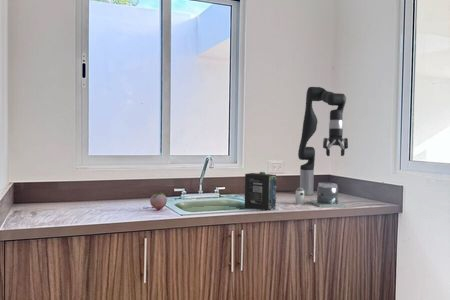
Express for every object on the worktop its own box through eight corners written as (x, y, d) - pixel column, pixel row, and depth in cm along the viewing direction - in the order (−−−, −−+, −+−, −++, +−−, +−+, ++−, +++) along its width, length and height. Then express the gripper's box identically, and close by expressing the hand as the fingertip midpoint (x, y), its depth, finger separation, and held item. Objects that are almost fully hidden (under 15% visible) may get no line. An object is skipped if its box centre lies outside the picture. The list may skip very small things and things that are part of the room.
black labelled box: (270, 211, 203) (271, 173, 202) (242, 207, 214) (243, 171, 213) (277, 209, 210) (278, 172, 209) (250, 205, 221) (250, 170, 220)
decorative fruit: (156, 208, 208) (156, 189, 207) (169, 209, 204) (169, 190, 204) (146, 211, 199) (146, 192, 199) (159, 212, 196) (160, 193, 195)
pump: (294, 203, 229) (294, 187, 228) (302, 203, 229) (302, 187, 229) (298, 205, 222) (298, 189, 222) (306, 205, 223) (306, 189, 223)
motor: (309, 202, 233) (309, 182, 232) (334, 202, 235) (334, 181, 235) (319, 207, 217) (320, 185, 217) (346, 206, 219) (346, 185, 219)
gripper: (344, 128, 225) (343, 155, 225) (321, 127, 223) (321, 155, 223) (350, 128, 217) (349, 156, 218) (326, 127, 215) (326, 156, 216)
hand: (335, 155), depth 220 cm, fingers open, 8 cm apart
